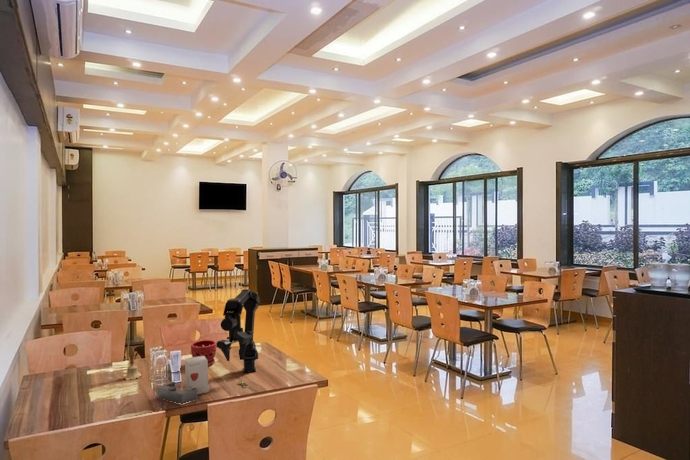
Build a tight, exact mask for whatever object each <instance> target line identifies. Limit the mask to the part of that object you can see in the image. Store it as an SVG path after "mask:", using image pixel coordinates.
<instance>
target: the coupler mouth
mask: <svg viewBox="0 0 690 460" xmlns="http://www.w3.org/2000/svg"><path fill="white" fill-rule="evenodd" d="M158 397H159V398H161V399H160V400H163V399H165V400H164V401H166V400H168V401H167V402H169V401H172V402H176V403H181V404H183V403H186V402H189V401H193V400H195V401H197V400H198V394H197V388H193V389H190V390H188V391H186V390H181V389H178V388H177V387H176V382H175V381H170V382H167V383H165V384H162V385H159V386H157V398H158ZM159 398H158V399H159ZM196 399H197V400H196ZM172 402H171V403H172ZM193 402H194V401H193Z"/></svg>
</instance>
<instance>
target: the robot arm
mask: <svg viewBox="0 0 690 460" xmlns="http://www.w3.org/2000/svg"><path fill="white" fill-rule="evenodd" d="M260 302H261V299H260V296H259V295H258V293H256V292H254V291H253V290H252V289H249V288H248V289H242V290H241V292H240V293H239V294H237V295H236V296H235V297H234V298H230V299H227V301H226V302H225V305H224V310H223V313H222V315H223V316H224V318H223V319H222V320H221V322H220V327H221V329H222V330H223V331H225V332H228V336H226V339H227V340H226V339H221V340H218V341H217V342H216V348H218V349H220V350H221V352H222V354H223V356H224V357H225V359H226V362H230V361H231V360H230V358H231V357H230V355H231V353H230V352H231V349H232V347H231V346H232V345H233V344H236V343H238V344H239V345H238V346H239V348H238V357H239V360H240V361H241V360H242V361H243V367H242V373H243V374H246V373H254V372H257V368H256V360H258V359H259V352H258V350H257V345H256V343H255V342H254V332H255V331H254V330H255V328H254V327H255V317H256V311H257V310H258V309H259V306H260V305H259V304H260ZM243 309H244V310H245V321H244V328H243V327H242V325H241V324H242V321H241V315H242V312H243Z"/></svg>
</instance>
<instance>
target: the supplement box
mask: <svg viewBox="0 0 690 460" xmlns="http://www.w3.org/2000/svg"><path fill="white" fill-rule="evenodd" d="M184 368H185V369H184V370H185V378H184V379H185V391H188V390H190V389H193V388H197V395H200V394H206V393H209V390H210V389H209V366H208V360H207V359H206V358H205V356H199V357H192V356H191V357H187V358H186V357H185V359H184Z"/></svg>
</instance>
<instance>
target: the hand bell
mask: <svg viewBox="0 0 690 460" xmlns="http://www.w3.org/2000/svg"><path fill="white" fill-rule="evenodd" d="M134 356H135V350H134V348H133V346H132V345H130V346H129V349H128V357H129V359H130V360H129V366H128V367H127V372H126V375H125V376H124V377H125V378H136V377H139V376H141V375H142V374H141V373H140V372H139V369H138V365H135V361H134Z"/></svg>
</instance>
